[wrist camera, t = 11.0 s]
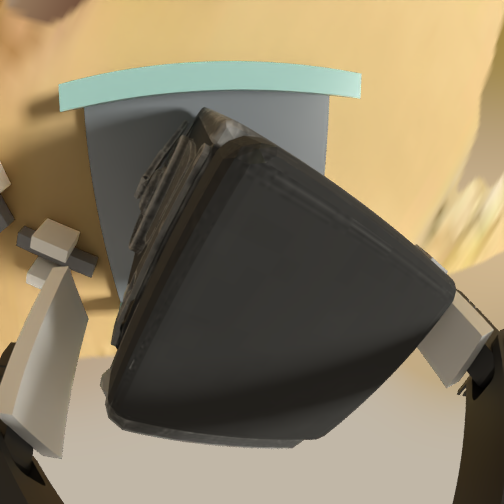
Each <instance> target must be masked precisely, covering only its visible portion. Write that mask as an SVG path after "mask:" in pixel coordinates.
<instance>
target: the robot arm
mask: <svg viewBox="0 0 504 504" xmlns="http://www.w3.org/2000/svg"><path fill="white" fill-rule="evenodd" d="M87 322H88V316H87V314H86V311H85V309H84V306H83V304H82V301H81V299H80V296H79V294H78V291H77V288H76V286H75V283H74V280H73V277H72V274H71V272H70V269H69V266H64V267H54V268H52V270H51V272H50V274H49V276H48V277H47V279H46V281H45V283H44V285H43V287H42V289H41V291H40V292H39V294H38V296H37V298H36V300H35V302H34V304H33V306H32V308H31V311H30V313H29V315H28V317H27V319H26V321H25V323H24V326H23V328H22V330H21V332H20V335H19V337H18V339H17V342H16V343H13V342H11V343H10V344H9V346H8V347H7V348H6V349H5V351H4V352H3V353H2V356H1V358H0V504H64V503H63V501H62V500H61V498H60V497H59V495H58V494H57V492H56V491H55V489H54V488H53V486H52V485H51V483H50V482H49V480H48V479H47V477H46V475H45V474H44V472H43V470H42V468H41V467H40V466H39V463H38V461H37V460H36V459H35V458H34V456H32V455H33V448H34V449H35V450H37V452H39V453H40V454H41V455H43V456H47V457H53V458H59V459H62V452H63V443H64V434H65V427H66V420H67V413H68V406H69V401H70V396H71V390H72V385H73V380H74V375H75V371H76V366H77V362H78V357H79V353H80V349H81V345H82V341H83V337H84V333H85V330H86V326H87ZM417 348H418V349H419V350H420V352H421V353H422V354H423V356H424V357H425V359H426V360H427V361H428V363H429V364H430V365H431V367H432V368H433V370H434V371H435V373H436V374H437V375H438V377H439V378H440V380H441V381H442V382H443V384H444V385H445V387H446V388H448V387H450V386H452V385H453V384H455V383H457V382H459V381H460V379H461V378H462V377H463V375H464V374H465V373H466V371H467V372H468V373H469V374H470V376H469V377H468V378H467V380H466V381H465V383H464V384H463V385H462V386H461V388H460V389H459V390H458V393H457V394H458V395H460V394H461V392H462V391H463V390H464V389H465V388H466V391H465V392H464V394H463V396H466V413H465V428H464V439H463V448H462V456H461V463H460V469H459V476H458V481H457V486H456V491H455V495H454V500H453V504H504V329H503V330H500V332H499V331H498V330H497V329H496V328H495V327H494V326H493V325H492V323H491V322H490V321H489V320H488V319H487V318H486V317H485V316H484V315H483V314H482V313H481V311H480V310H479V309H478V308H475V305H474V304H473V303H472V302H469V299H468V298H467V297H466V296H465V295H464V294H463V293H462V292H461V291H459V290H457V289H456V294H455V297H454V301H453V302H452V304H451V305H450V306H449V308H448V309H447V310H446V312H445V313H444V314H443V316H442V317H441V318H440V320H439V321H438V322H437V323H436V325H435V326H434V327H433V328H432V330H431V331H430V332H429V333H428V335H427V336H426V337H425V338H424V339H423V341H422V342H421V343H420V344H419V345H418V346H417Z"/></svg>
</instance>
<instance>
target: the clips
mask: <svg viewBox="0 0 504 504" xmlns="http://www.w3.org/2000/svg"><path fill="white" fill-rule="evenodd" d="M10 185H11V183H10V181H9V179H8V177H7V175H6V172H5V170H4V168H3V166H2V164H1V162H0V193H1V192H3V191H4V190H5V189H6V188H7V187H9V186H10ZM79 235H80V232H79V231H77V230H75V229H72V228H70V227H67V226H65V225H63V224H60V223H58V222H56V221H53V220H51V219H49V218H47V219H46V220H45V221H44V222H43V224H42V225H41V226H40V227H39V228H38V229H37V230H36V231H35V233H34V234H33V235H32V237H31V244H30V248H31V249H34V250H36V251H38V252H40V253H43V254H45V255H47V256H50V257H52V258H54V259H57V260H59V261H61V262H64V263H66V261H67V259H68V258H69V256H70V254H71V253H72V251H73V249H74V247H75V246H76V244H77V242H78V238H79ZM54 267H64V266H61V265H59V264H57V263H54V262H52V261H50V260H47V259H45V258H43V257H40V256H38V257H37V259H36V260H35V262H34V263H33V265H32V266H31V268H30V269H29V271H28V272H27V279H26V283H27V284H30V285H32V286H34V287H36V288H39V289H42V287H43V285H44V283H45V281H46V279H47V277H48V276H49V274H50V272H51V270H52V268H54ZM70 272H71V269H70Z"/></svg>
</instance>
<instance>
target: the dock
mask: <svg viewBox="0 0 504 504" xmlns="http://www.w3.org/2000/svg"><path fill="white" fill-rule="evenodd" d="M360 95H361V74H360V73H355V72H349V71H343V70H337V69H331V68H324V67H316V66H308V65H298V64H287V63H274V62H252V61H211V62H190V63H176V64H165V65H156V66H148V67H140V68H133V69H127V70H121V71H115V72H110V73H105V74H100V75H95V76H90V77H86V78H82V79H78V80H74V81H70V82H66V83H62V84H59V104H60V112H63V111H68V110H74V109H80V108H84V114H85V126H86V137H87V146H88V154H89V162H90V169H91V176H92V182H93V188H94V194H95V200H96V205H97V210H98V215H99V220H100V225H101V230H102V234H103V239H104V243H105V247H106V251H107V255H108V259H109V263H110V267H111V271H112V274H113V278H114V281H115V285H116V288H117V292H118V295H119V298H120V302H121V303H120V307H121V304H122V302H123V297H124V293H125V290H126V288H127V284H128V280H129V275H130V271H131V267H132V263H133V259H134V255H135V252H134V251H131V250H129V246H128V245H129V242H130V239H131V236H132V233H133V230H134V227H135V225H136V222H137V220H138V217H139V215H140V212H141V211H140V208H139V203H140V200H141V198H142V196H141V198H140V199H136V198H135V197H134V193H135V191H136V190H137V187H138V185H139V183H140V180H141V178H142V176H143V175H144V174H145V172H146V171H147V169H148V168H149V166H150V164H151V163H152V161H153V160H154V158H155V157H156V155H157V154H158V152H159V151H160V149H161V150H162V148H163V147H164V146H165V144H166V143H167V142H168V140H169V139H170V138H171V136H172V135H173V134H174V133H175V131H176V130H177V129H178V127H179V126H180V125H181V124H182V122H183V121H184V120H187V121H189V122H190V123H189V124H188V126H187V128H186V129H185V131H184V132H183V134H182V135H186V133H187V131H188V130H189V128H190V126H191V124H192V123H193V121H194V119H195V118H196V116H197V114H198V113H199V111H200V110H201V109H202V108H203V107H206V108H209V109H212V110H214V111H216V112H218V113H220V114H223V115H225V116H227V117H229V118H231V119H233V120H235V121H237V122H239V123H241V124H243V125H245V126H246V127H248V128H250V129H252V130H253V131H255V132H257V133H258V134H260V135H262V136H263V137H265V138H267V139H268V140H270V141H271V142H273V143H275V144H276V145H278V146H280V147H281V148H283V149H284V150H286V151H287V152H289V153H291V154H292V155H294V156H295V157H297V158H298V159H300V160H301V161H303V162H304V163H306V164H307V165H309V166H310V167H312V168H313V169H315V170H316V171H318V172H319V173H321V174H322V175H324V172H325V160H326V147H327V132H328V114H329V96H339V97H351V98H360ZM169 153H170V152H169ZM168 155H169V154H168ZM168 155H167V157H168ZM167 157H166V158H167ZM166 158H165V160H166ZM165 160H164V161H163V163H162V164H161V166H160V167H159V168H162V166H163V164H164V162H165ZM119 310H120V308H119Z"/></svg>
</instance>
